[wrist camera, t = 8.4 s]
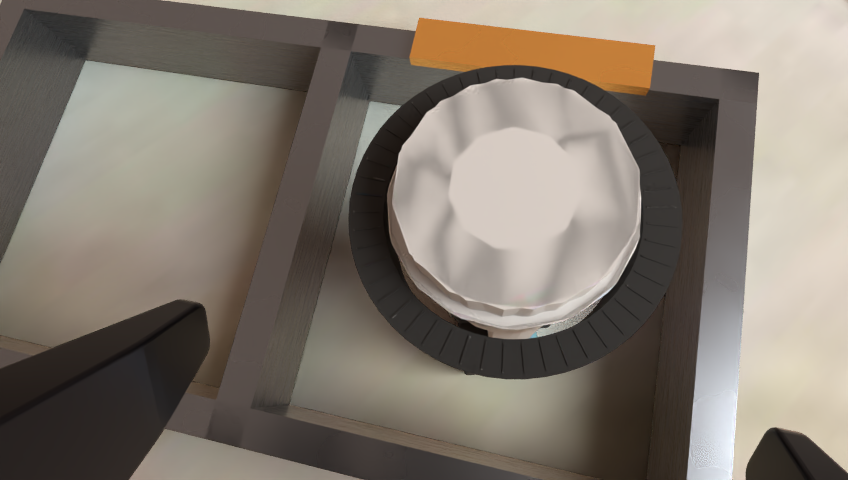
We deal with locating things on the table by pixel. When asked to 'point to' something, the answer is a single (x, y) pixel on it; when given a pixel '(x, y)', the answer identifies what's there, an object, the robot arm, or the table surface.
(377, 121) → the table surface
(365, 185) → the push button
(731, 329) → the grey divided tray
